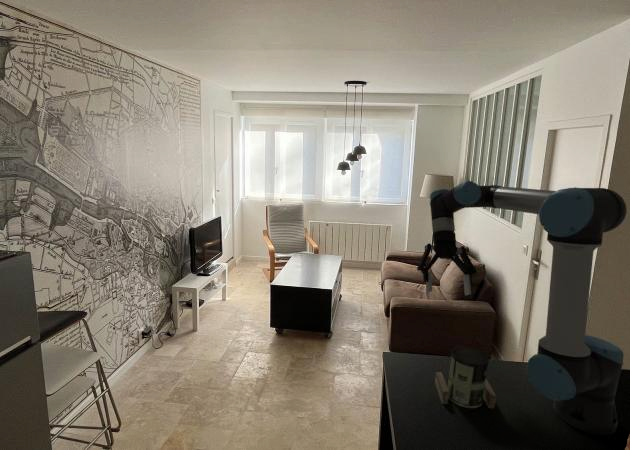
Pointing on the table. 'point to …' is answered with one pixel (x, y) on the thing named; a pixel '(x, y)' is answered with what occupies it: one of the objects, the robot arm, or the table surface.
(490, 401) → the chute
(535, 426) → the table surface
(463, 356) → the coffee can
